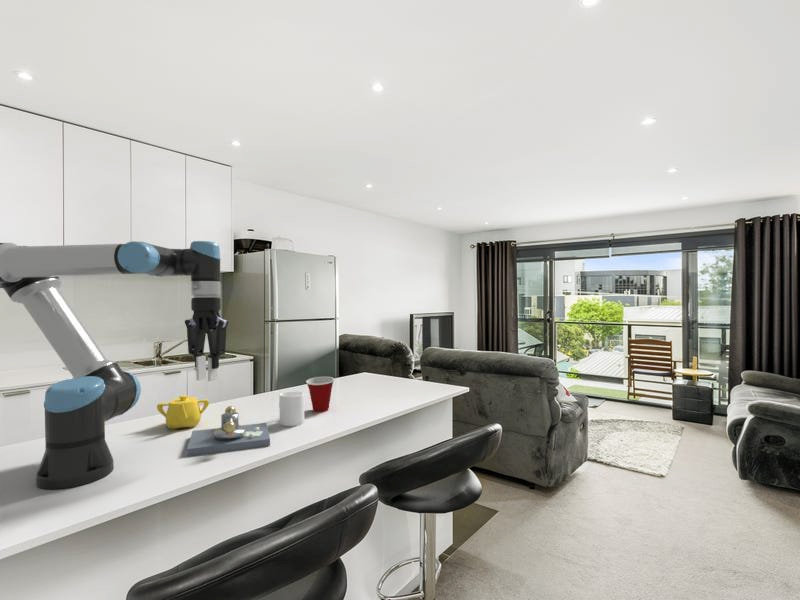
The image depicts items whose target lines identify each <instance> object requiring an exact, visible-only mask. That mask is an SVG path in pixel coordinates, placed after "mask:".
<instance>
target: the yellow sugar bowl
mask: <svg viewBox="0 0 800 600" xmlns="http://www.w3.org/2000/svg"><path fill="white" fill-rule="evenodd" d="M200 403H203V406H202V408H201V406H200ZM209 404H210V401H209V399H204V398H203V399H199V400H198V399H197V397H195V396H188V395H187V394H182V395H180V396H179V397H177V398H173V399H172V400H170V402H162V403H158V404H157V405H156V408H157V411H158V412H159V413H160V414H161V415H162V416H164V418H165V425H166V426H167V427H168V428H169V429H171V430H177V428H178V429H182V428H188V427H191V428H194V427H195V426H197V425H199V422H200V421H201V418H202V413H203V414H204V412H205V410H206V409H207V408H208V406H209ZM166 406H167V409H166V411H165V410H164V408H163V407H166Z"/></svg>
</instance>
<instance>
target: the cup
mask: <svg viewBox="0 0 800 600" xmlns="http://www.w3.org/2000/svg"><path fill="white" fill-rule="evenodd" d="M278 397H279V398H278V399H279V402H278V404H279V405H278V406H279V407H278V408H279V424H280V425H281V426H283V427H297V426H300V425H303V423H305V393H304V391H299V390H297V391H293V390H291V391H285V392H282V393H280V394H279V396H278Z"/></svg>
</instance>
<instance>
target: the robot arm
mask: <svg viewBox="0 0 800 600" xmlns="http://www.w3.org/2000/svg"><path fill="white" fill-rule="evenodd" d="M220 250H221V249H220V245H219V243H217V242H216V241H209V240H197V241H196V240H194V241H192V242H190V247H189V248H167V247H164V246H159V245H155V244H151V243H149V242H146V241H132V240H131V241H128V242H126V243H107V244H106V243H104V244H102V243H101V244H100V243H99V244H67V245H66V244H65V245H64V244H63V245H35V246H34V245H32V246H31V245H30V246H28V245H27V246H26V245H17V244H15V243H13V242H0V289H2V290H4V291H5V293H6V295H7V296H8V297H9V298H10V300H11V301H12V302H14V303H18V304H22V306H24V308H25V309H26V310H27V313H28V314H29V316H31V318H32V320H33V321H34V322H35V324H36V325H37V327H38V328H39V329H40V331H41V332H42V334H43V335H44V336H45V339H46V340H47V341H48V343H49V344H50V345H51V347H52V349H53V350H54V351H55V353H56V354H57V356H58V357H59V359H60V360H61V361H62V362H63V364H64V366H65V367H66V369H67V370H68V372H69V373H70V375H71V376H72V378H70V379H68V378H67V379H65V380H60V381H58V382H55V383H53V384H52V385H50V386H49V387H48V388H47V389H46V391H45V395H44V402H43V408H44V433H45V435H44V438H45V440H44V441H45V449H44V453H43V456H42V458H41V461H40V464H39V467H38V470H37V471H36V472H37V473H36V477H35V479H36V481H35V483H36V487H38V488H39V489H43V490H44V489H45V490H60V489H61V490H62V489H67V488H74V487H78V486H82V485H85V484H88V483H92V482H95V481H99V480H100V479H102V478H104V477H106V476H108V475H109V474H111V473H112V472H113V471H114V467H115V466H114V465H115V464H114V463H115V462H114V458H113V455H112V453H111V451H110V449H109V446H108V443H107V441H106V426H105V425H106V423H105V422H107V421H109V420H111V419H113V418H115V417H119V416H122V415H124V414H125V413H126V412H128V411H129V410H131V409H132V408H134V407H135V406H136V404H137V402H138V401H139V399H140V396H141V392H142V390H141V389H142V388H141V383H140V381H139V379H138V378H137V376H135V375H134V374H133V373H132V372H128V371H124V370H123V369H122V368H121V367H120V366H119V364H118V363H117V361H115V360H109V359H107V358H106V356H105V354H104V353H103V352H102V351H101V349H100V348H99V346H98V345H97V344H96V342H95V340H94V339H93V338H92V335H91V334H90V332H89V331H88V330H87V328H86V327H85V326H84V324H83V322H82V321H81V320H80V318H79V317H78V315H77V313H75V311H74V309H73V308H72V307H71V305H70V304H69V302H68V300H67V299H66V298H65V297H64V295H63V293H62V292H61V290H59V289H60V287H61V285H62V280H61V279H60V277H72V276H73V277H74V276H75V277H76V276H77V277H78V276H103V275H106V276H108V275H133V274H135V275H139V274H144V275H145V274H147V275H149V276H153V277H155V276H156V277H166V276H167V277H168V276H169V277H172V276H173V277H175V276H178V277H179V276H186V277H187V276H190V282H191V283H190V287H191V288H190V289H191V291H190V292H191V296H193V297H192V298H191V302H190V303H191V304H190V305H191V307H190V308H191V311H193V313H192V314H193V315H192V317H191V318H188V319H185V320H184V324H185V327H186V335H187V336H186V337H187V352H188V354H189V355H192V356H193V357H194V367H195V368H196V372H195V373H196V381H202V380H206V379H207V382H212V381H216V380H218V369H219V368H220V356H223V355H225V354H226V345H227V344H226V343H227V341H226V340H227V327H228V325H229V320H228V319H223V318H221V315H220V310H221V306H222V303H221V298H220V297H219V296H221V294H222V293H221V291H222V290H221V259H222V258H221V252H220ZM206 335H207V336H206ZM206 337H207V342H208V350H209V355H208V357H207V356H206V353H204V350H205V343H206ZM206 358H207V359H206ZM206 362H207V364H206ZM206 365H207V366H206Z"/></svg>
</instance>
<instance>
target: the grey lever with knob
mask: <svg viewBox="0 0 800 600" xmlns="http://www.w3.org/2000/svg"><path fill="white" fill-rule="evenodd" d="M220 417H221V418H220V420H221V423H220V424H221V425H220V426H221V427H217V429H216V430H214V438H216V439H222V440H225V439H234V438H238V437H241V436H243V435H245V434H246V427H245V426H242V424H241V425H240V424H239V412H236V408H235V406H232V405H231V406H227V407H226V408H225V409H224V413H222V414H221V415H220Z"/></svg>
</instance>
